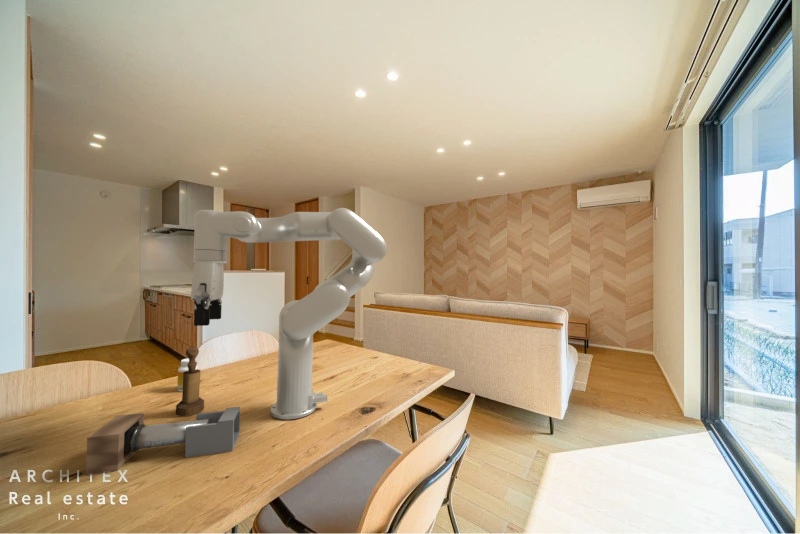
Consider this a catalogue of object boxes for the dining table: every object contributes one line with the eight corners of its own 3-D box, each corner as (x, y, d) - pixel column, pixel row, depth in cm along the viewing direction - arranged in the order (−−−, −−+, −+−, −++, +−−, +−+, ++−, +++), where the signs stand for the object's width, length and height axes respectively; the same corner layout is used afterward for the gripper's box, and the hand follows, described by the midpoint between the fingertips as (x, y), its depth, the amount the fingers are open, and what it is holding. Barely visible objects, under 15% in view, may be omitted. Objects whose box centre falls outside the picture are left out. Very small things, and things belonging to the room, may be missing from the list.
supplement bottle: (189, 392, 95) (190, 362, 95) (172, 391, 95) (174, 361, 95) (200, 385, 100) (201, 357, 100) (185, 385, 100) (186, 357, 100)
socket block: (142, 444, 66) (144, 413, 66) (117, 470, 58) (119, 434, 58) (115, 447, 65) (116, 415, 65) (85, 474, 56) (87, 437, 56)
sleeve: (239, 435, 71) (240, 406, 71) (232, 451, 65) (233, 419, 65) (196, 440, 68) (197, 410, 69) (184, 457, 62) (186, 425, 62)
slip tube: (210, 434, 69) (211, 413, 69) (203, 447, 64) (203, 423, 64) (120, 445, 64) (121, 422, 64) (104, 460, 59) (105, 434, 59)
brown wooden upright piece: (209, 408, 84) (211, 345, 85) (186, 418, 78) (189, 351, 79) (193, 404, 86) (195, 343, 87) (169, 414, 80) (172, 348, 81)
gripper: (205, 258, 84) (203, 317, 84) (180, 255, 68) (177, 328, 68) (234, 259, 87) (232, 316, 86) (216, 256, 70) (214, 327, 70)
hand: (208, 322), depth 77 cm, fingers open, 9 cm apart
